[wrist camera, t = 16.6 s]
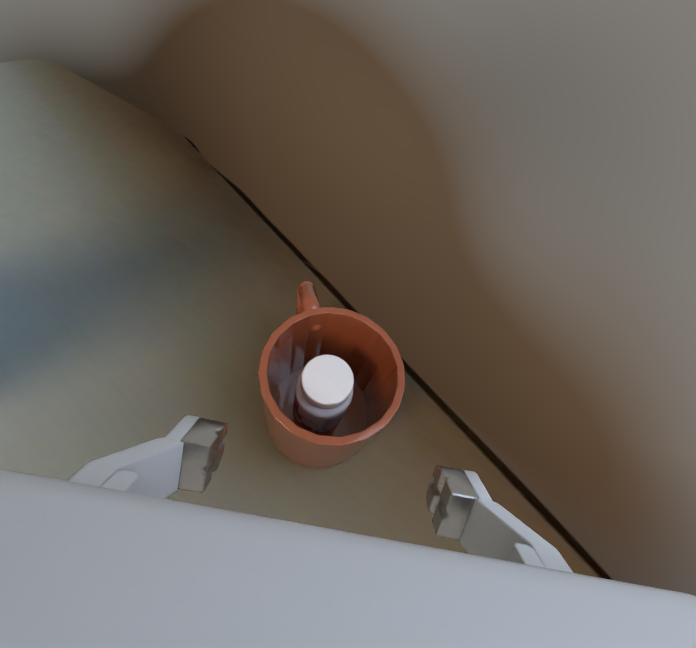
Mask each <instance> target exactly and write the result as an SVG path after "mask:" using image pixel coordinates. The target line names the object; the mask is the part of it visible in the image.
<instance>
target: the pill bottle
mask: <svg viewBox="0 0 696 648" xmlns="http://www.w3.org/2000/svg"><path fill="white" fill-rule="evenodd" d="M353 384H354V377H353V373H352V370H351V368H350V367H349V365H348V364H347V363H346V362H345V361H344V360H342V359H341V358H339V357H337V356H334V355H321V356H317V357H315V358H313V359H312V360H310V361H309V362H308V363H307V364H306V366H305V367H304V369H303V371H302V372H301V374H300V375H299V377H298V379H297V382H296V386H295V396H294V405H293V411H294V416H295V419H296V421H297V423H298V424H299V425H300V426H301V427H302V428H303V429H305V430H307V431H310V432H312V433H316V434H320V433H325V432H328V431H330V430H332V429H333V428H334V427H335V426H336V425H337V424H338V423H339V422H340V420H341V418H342V417H343V415H344V413H345V412H346V410H347V408H348V407H349V405H350V403H351V400H352V397H353Z"/></svg>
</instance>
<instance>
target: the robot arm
mask: <svg viewBox="0 0 696 648" xmlns="http://www.w3.org/2000/svg"><path fill="white" fill-rule="evenodd" d="M226 433H227V423H223V422H219V421H214V420H210V419H205V418H200V417H196V416H191V415H185V416H184V417H183V418H182V419H181V420H180V421H179V423H178V424H177V425H176V426H175V427H174V428H173V429H172V430H171V431H170V432H169V433H168V434H167V435H166V437H165V438H157V439H154V440H151V441H148V442H145V443H142V444H139V445H136V446H133V447H130V448H127V449H125V450H122V451H119V452H116V453H113V454H110V455H107V456H104V457H101V458H98V459H95V460H92V461H89V462H88V463H86V464H85V465H84V466H83V467H82V468H81V469H79V470H78V471H77V472H76V473H75V474H73V475H72V476H71V477H70V478H69V479H68V480H66V481H65V480H60V479H54V478H49V477H43V476H38V475H32V474H27V473H21V472H16V471H10V470H5V469H0V648H696V597H695V596H693V595H689V594H686V593H681V592H676V591H670V590H664V589H659V588H653V587H647V586H641V585H636V584H631V583H625V582H620V581H614V580H609V579H603V578H598V577H592V576H587V575H581V574H576V573H573V572H572V570H571V569H570V567H569V566H568V565H567V563H566V562H565V560H564V559H563V557H562V556H561V554H560V553H559V552H558V550H557V549H556V548H554V547H553V546H552V545H551V544H549V543H548V542H547V541H546V540H544V539H543V538H542V537H540V536H539V535H538V534H537V533H535V532H534V531H533V530H531V529H530V528H529V527H528V526H526V525H525V524H524V523H522V522H521V521H520V520H519V519H517V518H516V517H515V516H513V515H512V514H511V513H510V512H508V511H507V510H506V509H504V508H503V507H502V506H501V505H499V504H498V503H496V502H493V501H492V499H491V497H490V496H489V494H488V492H487V490H486V489H485V487H484V485H483V484H482V482H481V480H480V478H479V477H478V475H477V474H476V473H475V472H473V471H467V470H460V469H454V468H448V467H443V466H436V467H435V469H434V472H433V477H434V481H433V482H432V483H430V484H429V487H428V490H427V498H426V501H427V507H428V510H429V512H430V513H431V514H432V515H433V518H432V523H433V526H434V529H435V532H436V535H437V536H439V537H444V538H448V539H453V540H458V541H459V542H460V544H461V545H462V546H463V547H464V548H465V550H466V551H467V552H468V553H469V554H466V553H461V552H455V551H450V550H444V549H439V548H433V547H428V546H422V545H417V544H411V543H406V542H400V541H395V540H389V539H384V538H378V537H373V536H367V535H362V534H356V533H351V532H345V531H340V530H334V529H329V528H323V527H318V526H312V525H307V524H301V523H296V522H290V521H285V520H279V519H274V518H268V517H263V516H257V515H252V514H246V513H241V512H235V511H230V510H224V509H219V508H213V507H208V506H203V505H197V504H192V503H186V502H181V501H175V500H170V499H165V498H166V497H168V496H169V495H171V494H173V493H174V492H176V491H177V490H178V489H181V490H188V491H194V492H201V493H203V492H204V491H205V489H206V487H207V485H208V484H209V482H210V480H211V476H212V472H214V471H216V469H217V468H218V466H219V463H220V461H221V458H222V455H223V451H224V446H225V444H224V442H223V439H224V437H225V435H226Z"/></svg>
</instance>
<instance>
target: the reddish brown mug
mask: <svg viewBox="0 0 696 648" xmlns="http://www.w3.org/2000/svg"><path fill="white" fill-rule="evenodd" d="M321 355H334V356H337V357H339V358H341V359H342V360H344V361H345V362H346V363H347V364H348V365H349V367H350V368H351V370H352V373H353V377H354V384H353V397H352V400H351V403H350V405H349V407H348V408H347V410H346V412H345V413H344V415H343V417H342V418H341V420H340V422H339V423H338V424H337V425H336V426H335V427H334V428H333V429H332V430H330V431H328V432H325V433H320V434H316V433H312V432H310V431H307V430H305V429H303V428H302V427H301V426H300V425H299V424H298V423H297V421H296V419H295V416H294V411H293V405H294V396H295V386H296V382H297V379H298V377H299V375H300V374H301V372H302V371H303V369H304V367H305V366H306V364H307V363H308V362H309V361H310V360H312V359H313V358H315V357H317V356H321ZM258 376H259V382H260V388H261V394H262V400H263V406H264V412H265V418H266V425H267V430H268V433H269V435H270V437H271V439H272V441H273V443H274V445H275V446H276V447H277V449H278V450H279V451H280V452H281V453H282V454H283V455H284V456H285V457H287V458H288V459H289V460H291V461H293V462H295V463H296V464H299V465H302V466H305V467H310V468H327V467H332V466H335V465H338V464H340V463H342V462H344V461H346V460H347V459H349V458H350V457H351V456H353V455H354V454H356V453H357V452H358V451H359V450H360V449H361V448H362V447H363V446H365V445H366V444H367V443H368V442H369V441H370V440H371V439H372V438H373V437H374V436H376V435H377V434H378V433H379V432H380V431H381V430H382V429H383V428H384V427H385V426H386V425H387V424H388V423H389V421H390V420H391V419H392V417H393V416H394V414H395V413H396V411H397V410H398V409H399V407H400V403H401V400H402V396H403V393H404V389H405V375H404V365H403V362H402V359H401V357H400V354H399V352H398V349H397V347H396V345H395V344H394V342H393V341H392V340H391V338H390V337H389V336H388V334H387V333H386V332H385V331H384V330H383V329H382V328H381V327H380V326H378V325H377V324H376V323H374V322H373V321H372V320H370V319H369V318H367V317H365V316H363V315H361V314H358V313H356V312H353V311H351V310H348V309H340V308H332V307H324V308H320V304H319V301H318V297H317V294H316V290H315V287H314V285H313V283H311V282H310V281H303V282H301V283H300V284H299V286H298V293H297V308H296V315H295V316H293V317H291V318H289V319H287V320H286V321H285V322H284V323H283V324H282V325H281V326H279V327H278V328H277V329H276V330H275V331H274V332H273V333H272V335H271V336H270V338H269V340H268V341H267V343H266V345H265V347H264V348H263V350H262V354H261V360H260V365H259V370H258Z"/></svg>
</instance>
